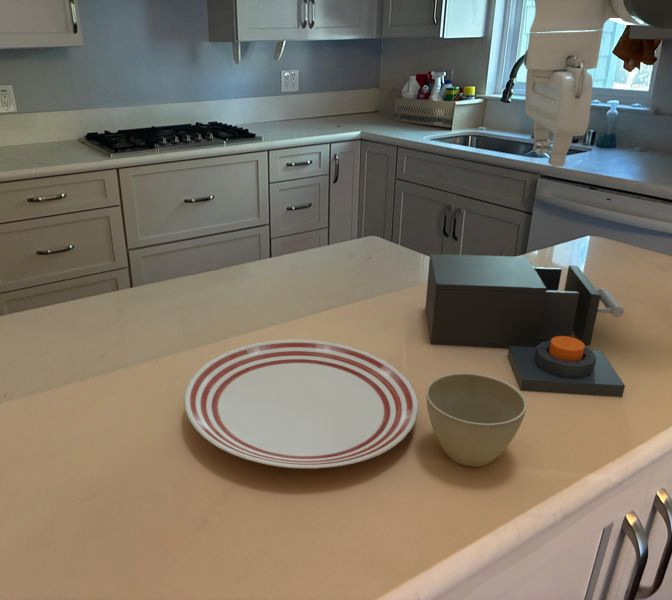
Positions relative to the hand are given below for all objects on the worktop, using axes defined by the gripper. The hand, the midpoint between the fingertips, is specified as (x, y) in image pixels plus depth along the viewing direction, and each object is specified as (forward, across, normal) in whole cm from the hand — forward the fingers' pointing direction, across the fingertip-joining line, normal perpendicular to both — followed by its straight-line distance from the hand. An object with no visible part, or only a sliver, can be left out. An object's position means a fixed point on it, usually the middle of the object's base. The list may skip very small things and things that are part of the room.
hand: (547, 158), depth 88 cm
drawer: (+24, -6, -2) cm, 25 cm away
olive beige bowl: (+25, -37, +13) cm, 46 cm away
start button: (+22, -19, -1) cm, 29 cm away
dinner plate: (+24, -32, +32) cm, 51 cm away
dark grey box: (+25, -6, +8) cm, 27 cm away
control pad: (+25, -19, -1) cm, 31 cm away
